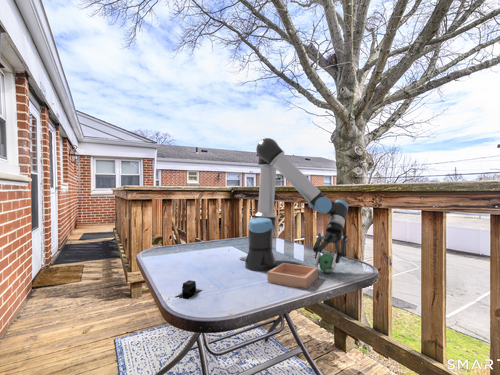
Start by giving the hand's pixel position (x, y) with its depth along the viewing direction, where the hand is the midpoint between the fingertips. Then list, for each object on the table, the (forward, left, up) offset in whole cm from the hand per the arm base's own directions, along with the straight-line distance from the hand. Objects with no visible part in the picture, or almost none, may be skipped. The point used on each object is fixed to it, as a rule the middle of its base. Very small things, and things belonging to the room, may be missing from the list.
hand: (324, 267), depth 110 cm
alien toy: (0, +3, -4) cm, 5 cm away
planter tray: (-10, -13, -3) cm, 16 cm away
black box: (-36, -46, -4) cm, 58 cm away
